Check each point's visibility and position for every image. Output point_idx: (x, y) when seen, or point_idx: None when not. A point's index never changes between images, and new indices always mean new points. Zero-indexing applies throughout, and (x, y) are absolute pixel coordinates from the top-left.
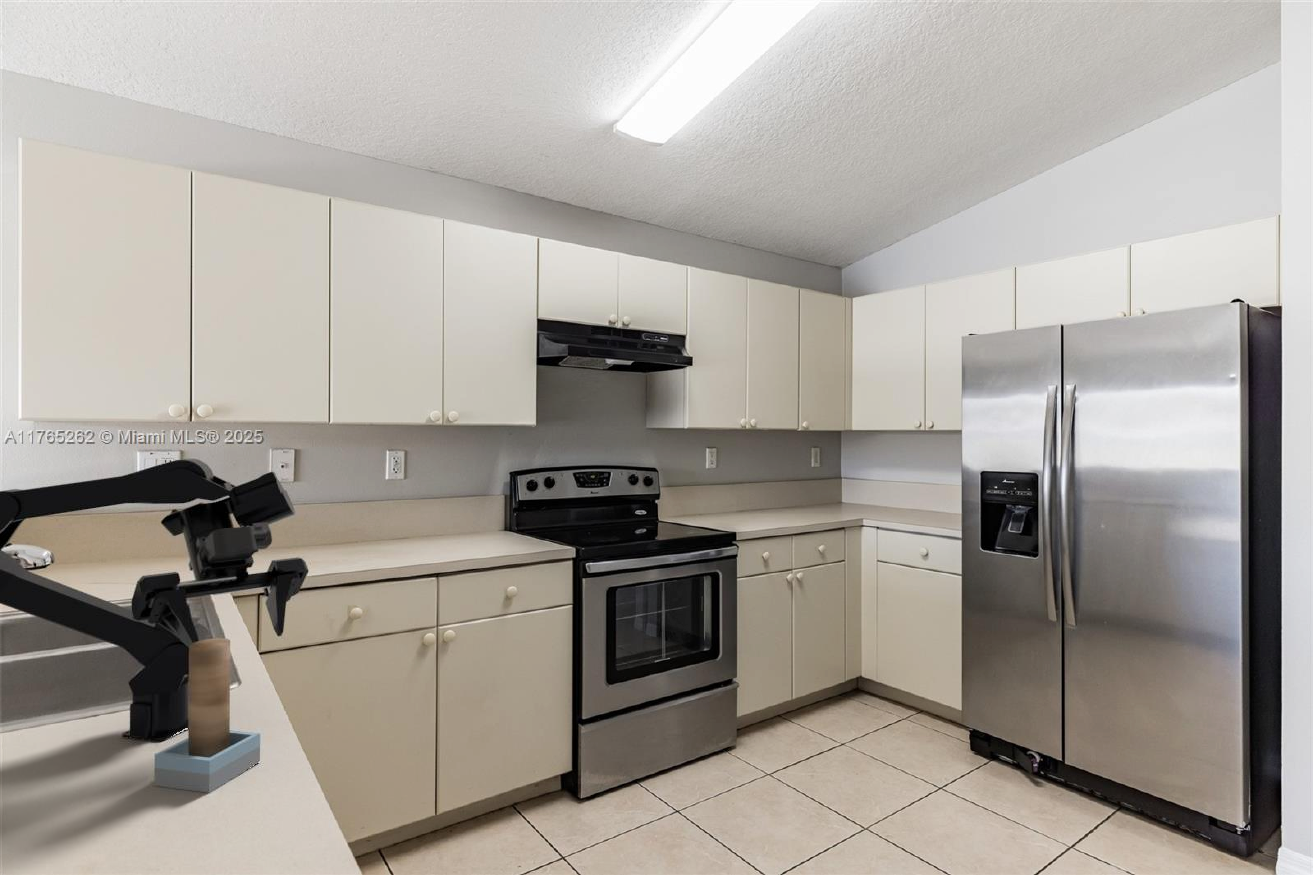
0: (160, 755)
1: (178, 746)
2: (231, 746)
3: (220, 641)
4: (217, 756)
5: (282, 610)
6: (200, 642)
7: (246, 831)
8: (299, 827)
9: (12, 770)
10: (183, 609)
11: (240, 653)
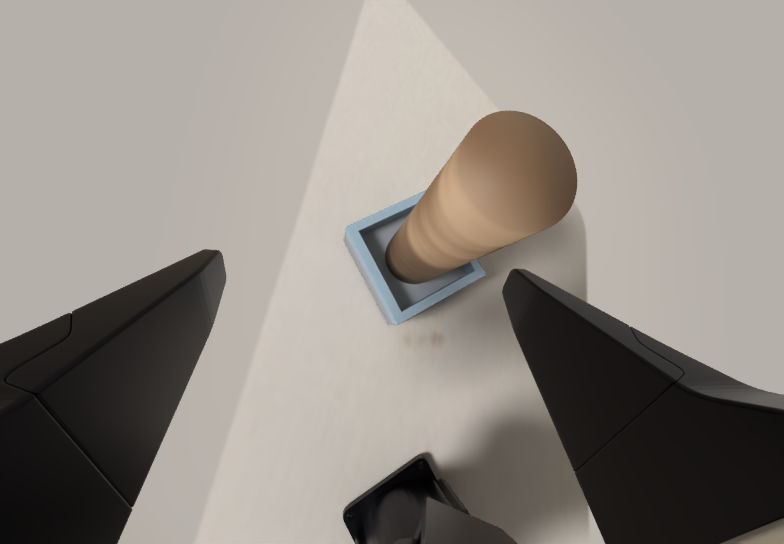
0: (480, 265)
1: (452, 283)
2: (398, 209)
3: (490, 162)
4: (424, 191)
5: (119, 298)
6: (541, 207)
7: (419, 91)
8: (377, 52)
9: (586, 502)
10: (695, 378)
11: None
